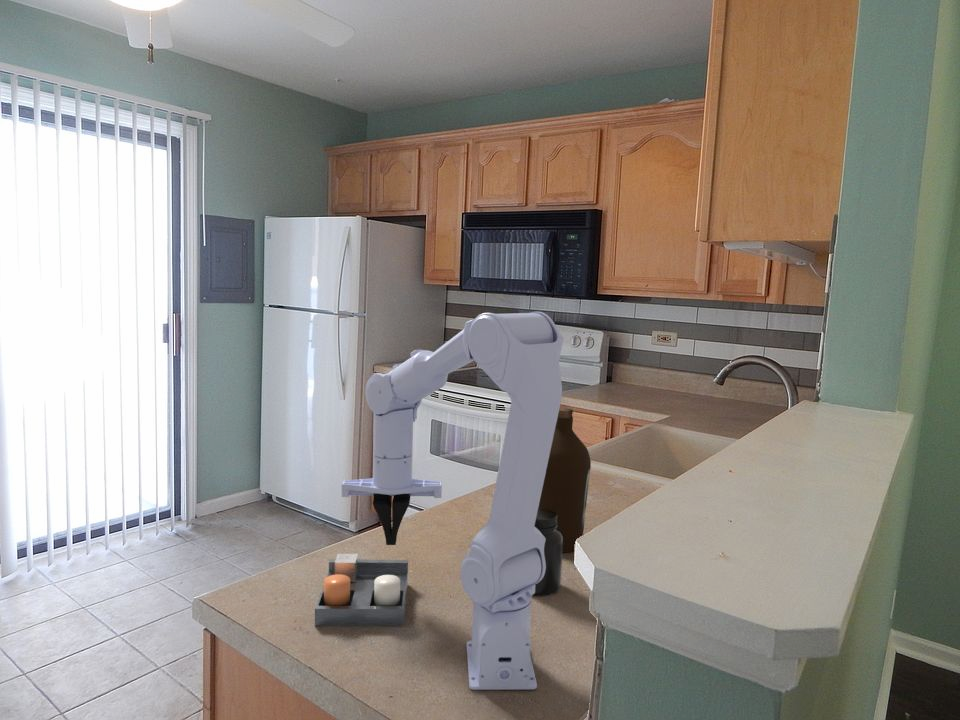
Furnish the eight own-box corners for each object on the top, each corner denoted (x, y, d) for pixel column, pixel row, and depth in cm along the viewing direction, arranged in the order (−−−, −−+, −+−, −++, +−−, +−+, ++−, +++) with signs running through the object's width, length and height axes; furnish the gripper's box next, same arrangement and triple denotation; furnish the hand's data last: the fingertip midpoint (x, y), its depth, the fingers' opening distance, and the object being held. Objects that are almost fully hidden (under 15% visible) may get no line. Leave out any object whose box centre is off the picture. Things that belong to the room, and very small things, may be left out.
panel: (403, 626, 89) (403, 598, 88) (314, 625, 88) (314, 598, 88) (407, 584, 101) (408, 559, 100) (329, 583, 100) (329, 559, 99)
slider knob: (355, 581, 95) (355, 562, 95) (334, 581, 95) (334, 562, 95) (357, 572, 98) (357, 553, 98) (337, 572, 98) (337, 553, 98)
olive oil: (534, 555, 113) (542, 415, 110) (522, 531, 123) (528, 402, 120) (593, 553, 114) (602, 415, 111) (576, 530, 125) (583, 403, 121)
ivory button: (399, 607, 90) (399, 586, 89) (372, 607, 90) (373, 586, 89) (400, 594, 93) (401, 574, 93) (375, 594, 93) (375, 574, 93)
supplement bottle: (533, 572, 106) (536, 502, 105) (568, 586, 102) (573, 513, 101) (507, 587, 101) (511, 513, 100) (544, 602, 97) (548, 526, 95)
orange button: (348, 607, 89) (348, 586, 89) (321, 607, 89) (321, 586, 89) (351, 594, 93) (351, 574, 92) (326, 594, 93) (326, 574, 92)
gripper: (442, 447, 99) (440, 532, 101) (346, 445, 98) (346, 531, 100) (442, 460, 92) (440, 551, 94) (339, 458, 91) (339, 550, 93)
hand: (391, 542), depth 96 cm, fingers closed
